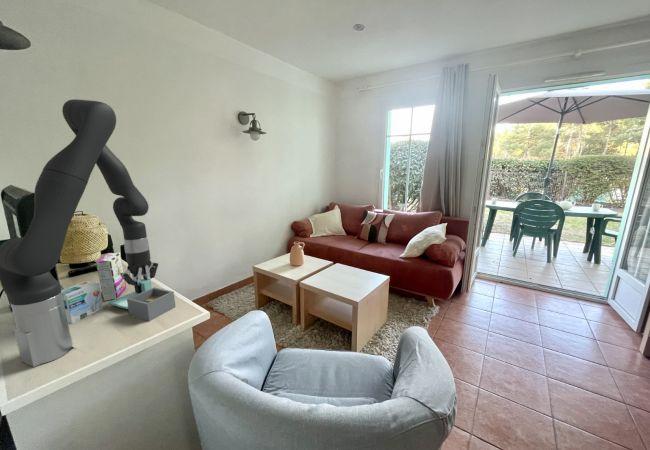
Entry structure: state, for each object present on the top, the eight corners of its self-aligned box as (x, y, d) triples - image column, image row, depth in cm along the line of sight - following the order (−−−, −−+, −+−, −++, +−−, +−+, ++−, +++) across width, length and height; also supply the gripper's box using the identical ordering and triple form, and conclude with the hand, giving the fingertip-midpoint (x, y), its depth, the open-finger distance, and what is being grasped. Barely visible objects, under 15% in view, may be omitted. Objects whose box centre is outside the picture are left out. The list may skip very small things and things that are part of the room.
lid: (126, 311, 93) (124, 293, 92) (109, 306, 96) (106, 289, 95) (156, 297, 103) (154, 281, 102) (139, 293, 107) (137, 278, 105)
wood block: (155, 310, 95) (154, 301, 94) (146, 309, 95) (145, 300, 95) (162, 305, 99) (161, 296, 98) (153, 304, 99) (152, 296, 98)
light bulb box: (72, 325, 87) (66, 295, 84) (56, 323, 88) (50, 293, 86) (105, 309, 97) (100, 282, 95) (90, 307, 98) (85, 280, 96)
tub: (149, 323, 88) (147, 304, 87) (129, 317, 92) (126, 298, 90) (175, 309, 97) (173, 291, 96) (156, 304, 101) (154, 287, 100)
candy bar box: (112, 289, 113) (106, 253, 109) (126, 287, 115) (121, 252, 111) (102, 301, 103) (95, 261, 99) (117, 299, 104) (111, 260, 101)
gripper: (124, 256, 92) (131, 301, 96) (161, 245, 105) (166, 285, 108) (110, 253, 95) (118, 297, 98) (148, 243, 107) (153, 283, 111)
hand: (143, 291), depth 103 cm, fingers closed on lid, 2 cm apart
